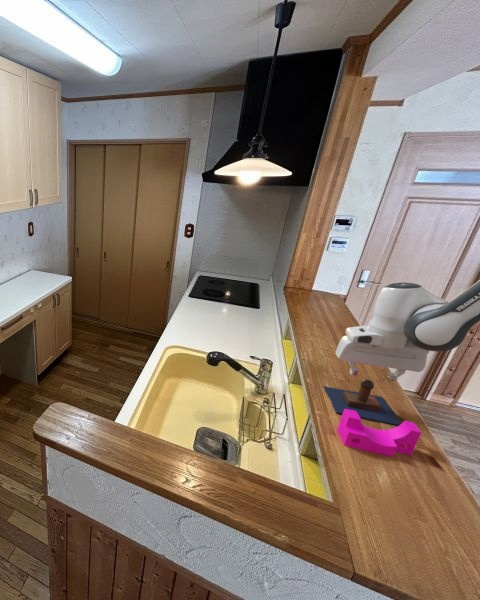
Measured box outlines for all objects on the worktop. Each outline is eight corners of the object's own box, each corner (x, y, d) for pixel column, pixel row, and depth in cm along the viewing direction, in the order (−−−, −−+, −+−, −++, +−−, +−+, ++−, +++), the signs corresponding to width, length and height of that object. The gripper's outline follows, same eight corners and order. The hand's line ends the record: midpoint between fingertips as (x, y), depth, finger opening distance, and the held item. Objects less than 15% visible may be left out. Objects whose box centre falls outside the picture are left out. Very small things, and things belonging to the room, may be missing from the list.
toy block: (344, 445, 87) (352, 423, 85) (337, 429, 93) (344, 408, 90) (415, 462, 82) (426, 439, 79) (404, 444, 87) (413, 422, 85)
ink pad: (381, 398, 106) (381, 396, 106) (402, 426, 94) (403, 425, 93) (323, 387, 111) (323, 386, 111) (336, 413, 99) (337, 411, 99)
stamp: (347, 406, 101) (355, 381, 98) (342, 396, 106) (350, 373, 103) (379, 412, 99) (389, 387, 95) (372, 402, 103) (381, 378, 100)
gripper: (426, 337, 93) (410, 377, 97) (340, 327, 100) (329, 365, 105) (439, 347, 87) (422, 389, 92) (347, 336, 94) (335, 376, 99)
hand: (372, 377), depth 98 cm, fingers open, 8 cm apart
